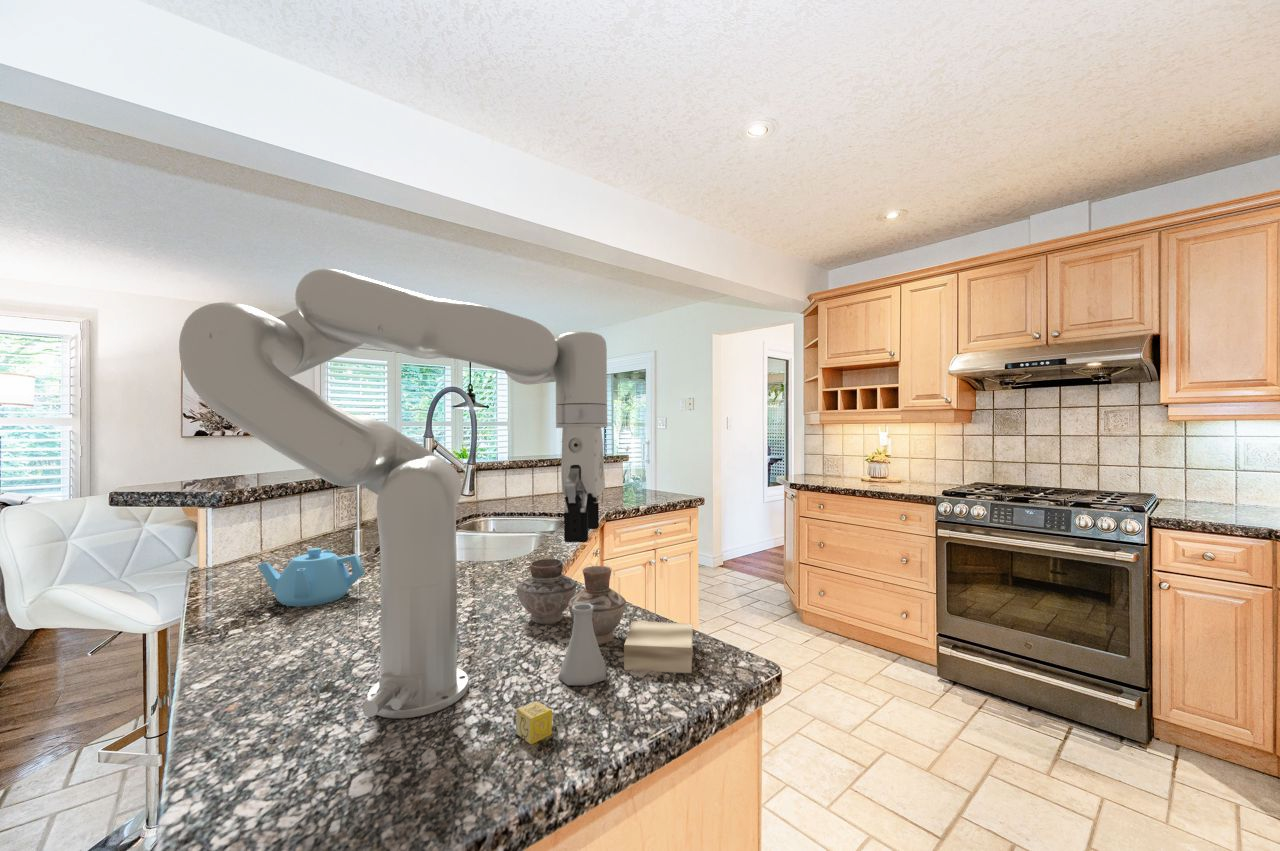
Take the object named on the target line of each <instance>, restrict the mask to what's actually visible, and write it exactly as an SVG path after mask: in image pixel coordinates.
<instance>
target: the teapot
mask: <svg viewBox="0 0 1280 851" xmlns="http://www.w3.org/2000/svg"><path fill="white" fill-rule="evenodd" d="M322 551H323V552H322ZM332 551H333V550H332V549H324V550H323V548H321V547H313V548H307V550H306V553H307V554H302V555H298V556H295V557H293V558H292V559H290V561H289V562H288V564H286V567H285V568H284V569H283V571H281V574H280V572H278V570H276V569H275V568H274V567H273V566H272V564H270V563H269V562H263V563H259V564H258V565H257V567H258V569H259V570H260V571H261V574H262V576H263V577H264V579H265V581H266V582H267V584H268V586H269V588H270V589H271V591H272V593H273V594H274V597H275V599H276V601H278V603H280V604H281V605H283V606H284V605H286V606H285V607H288V606H307V607H313V606H314V605H315V606H319V605H320V606H321V605H324V604H329V603H332V602H335V601H337V600H340V599H342V598H343V597H344V596H345V595H346V594H347V592H349V590H350V589H351V587H352V585H353V584H355V583H356V582H357V581H358V580H359V579H360V578H361V577H362V576H363V575H365V574H366V573H365V570H364V566H363V565H362V561H361V559H360V556H359V553H356V554H351V555H346V556H342V557H339V556H338V554H336V553H334V552H332ZM346 563H349V565H350V569H351V571H352V573H351V574H350V572H349V571H348V568H347V566H346V565H345V564H346ZM341 597H342V598H341Z"/></svg>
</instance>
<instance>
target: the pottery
mask: <svg viewBox="0 0 1280 851" xmlns="http://www.w3.org/2000/svg"><path fill="white" fill-rule="evenodd" d="M563 567H564V566H563V561H562V560H560V559H557V558H541V559H537V560H533V561H531V562H530V564H529V570H530V573H531V574H530V576H528V577H527V578H526V579H524V580H523V581H522V582H519V583H518V584H517V586H516V594H517V595H516V596H517V598H518V600H519V602H520V604H521V605H522V607H523V608H524V609H525V611H527V612H528V613H529V614H530V619H531V621H532V622H534V623H535V624H542V625H545V624H554V623H557V622H559V621H561V620H562V619H563V612H564V611H566V610H567V608H568V610H569V614H570V616H571V620H572V621H573V623H574V612H572V607H573V605H576V604H591V605H593V606H594V608H593V612H592V624H593V630H594V634H595V637H596V640H597V643H598V645H605V644H608V643H611V642H612V641H614V639H615V635H614V630H615V629H616V628H618V626H619V624H620V623H621V620H622V618H623V616H624V612H625V609H626V603H627V601H626V599H625V598H624V597H623V595H621V594H619V592H617V591H615V590H613V589H612V588H611V587H610V580H611V575H612V568H611V567H610V566H604V565H603V566H602V565H594V566H593V565H592V566H586V567H584V568H582V573H583V578H584V587H585V588H584V589H582V590H581V591H580V592H578V593H577V594H576V592H577V583H576V581H575V580H573V579H572V578H570V577H569V576H567V575H565V574H562V572H563Z"/></svg>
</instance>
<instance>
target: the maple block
mask: <svg viewBox="0 0 1280 851" xmlns="http://www.w3.org/2000/svg"><path fill="white" fill-rule="evenodd" d="M693 628H694V627H693V623H691V622H690V623H689V622H687V623H685V622H662V621H661V622H659V621H640V620H639V621H635V620H632V622H631V625H630V628H629V630H628V634H627V636H626V638H625V642H624V644H623V670H624V671H637V670H644V671H643V672H658V671H661V672H662V673H664V672H666V673H678V674H679V673H681V674H685V673H686V674H692V670H693V651H694V650H693V646H694V645H693V643H694V642H693V640H694V636H693V635H694V634H693V633H694V632H693ZM661 672H660V673H661Z"/></svg>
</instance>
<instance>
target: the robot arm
mask: <svg viewBox="0 0 1280 851" xmlns="http://www.w3.org/2000/svg"><path fill="white" fill-rule="evenodd" d="M294 297H295V298H294V299H295V305H296V307H297V308H296V309H295V310H292V311H289V312H287V313H284V314H282V315H280V316H277V317H274V316H273V315H270V314H268V313H266V312H264V311H262V310H260V309H258V308H255V307H253V306H250V305H248V304H247V305H246V304H241V303H237V302H229V301H226V302H225V301H224V302H213V303H208V304H206V305H203V306H200V307H199V308H197V309H195V310H194V311H193V312H192V313H191V314H189V316H188V317H187V319H185V321H184V323H183V326H182V329H181V330H180V331H181V332H180V335H179V340H178V344H179V345H178V351H179V352H178V353H179V359H180V364H181V369H182V371H183V372H184V376H185V377H186V379H187V382H188V383H189V385H190V386H191V388H192V389H193V391H194V393H196V395H197V396H198V397H199V399H201V401H202V402H204V403H205V404H206V405H207V406H208V407H209V408H210V409H212V410H213V411H214V412H215V413H216V414H218V415H219V416H221V418H223V419H225V420H226V421H228V422H229V423H231V424H233V425H234V426H236V427H238V428H239V429H241V430H242V431H244V432H245V433H248V434H249V435H251V436H252V437H254V438H256V439H257V440H259V441H261V442H262V443H264V444H265V445H267V446H268V447H270V448H271V449H273V450H274V451H277V453H280V454H281V455H282V456H285V457H287V458H288V459H290V460H291V461H294V462H295V463H296V464H298V465H299V466H301V467H304V468H305V469H307V470H309V471H310V472H311V473H313V474H314V475H316V476H317V477H319V478H321V479H322V480H324V481H325V482H328V483H329V484H332V485H335V486H339V487H355V486H361V487H364V488H365V489H366V490H369V491H370V492H371V493H373V494H376V495H377V498H376V499H377V500H376V519H377V527H378V528H377V529H378V538H379V540H378V541H379V554H380V555H379V560H380V562H379V563H380V567H379V568H380V571H379V573H380V575H379V577H380V581H379V582H380V648H379V649H380V655H379V656H380V658H379V659H380V663H379V664H380V665H379V666H380V667H379V668H380V669H379V670H380V672H379V673H380V674H379V677H378V682H377V683H376V684H374V685H373V686H371V689H370V690H369V691H368V693H367V695H366V701H365V702H363V705H362V712H363V714H364V715H365V716H366V717H369V718H372V717H375V716H379V717H381V718H386V719H409V718H415V717H422V716H427V715H429V714H433V713H435V712H439V711H441V710H444V709H446V708H448V707H450V706H452V705H453V704H455V703H457V702H458V701H459V700H461V699H462V698H463V697H464V695H465V694H466V693H467V692H468V689H469V681H470V680H469V679H470V678H469V675H468V674H467V673H466V672H465V671H464V670H462V669H460V668H458V574H457V573H458V568H457V566H458V565H457V563H458V562H457V561H458V558H457V557H458V555H457V554H458V553H457V551H458V550H457V547H458V546H457V505H458V504H459V501H460V499H461V496H462V492H463V485H462V479H461V476H460V475H459V473H458V471H457V470H456V468H455V467H454V466H453V465H451V463H449V462H448V461H446V460H445V459H444V458H442V457H440V456H439V455H437V454H436V453H434V452H433V451H431V450H430V449H427V448H425V447H424V446H422V445H421V444H419V443H417V442H416V441H415V440H413V439H411V438H410V437H408V436H407V435H405V434H403V433H401V432H400V431H398V430H397V429H395V428H393V427H392V426H390V425H388V424H386V423H384V422H383V421H380V420H378V419H375V418H370V417H364V416H359V415H355V414H352V413H350V412H348V411H346V410H344V409H342V408H340V407H339V406H337V405H335V404H334V403H332V402H330V401H329V400H327V399H326V398H323V397H322V396H320V395H319V394H317V393H316V392H315V391H313V390H312V389H310V388H309V387H307V386H305V385H304V384H301V383H299V382H298V381H296V380H294V379H293V378H291V377H293V376H296V375H297V376H298V375H299V374H301V373H305V372H306V371H308V370H311V369H313V368H315V367H317V366H320V365H322V364H324V363H326V362H329V361H331V360H333V359H335V358H337V357H340V356H342V355H344V354H346V353H348V352H350V351H353V350H354V349H356V348H358V347H359V348H360V347H361V346H362V345H364V344H365V345H370V346H373V347H378V348H381V349H385V350H388V351H391V352H395V353H399V354H403V355H406V356H410V357H413V358H418V359H425V360H434V359H441V358H442V359H443V358H445V359H446V358H447V359H453V360H460V361H464V362H470V363H474V364H477V365H482V366H485V367H488V368H492V369H496V370H500V371H503V372H505V374H506V375H507V376H508V377H509V378H510V379H511V380H513V381H514V382H515V383H517V384H522V385H525V386H526V385H530V386H531V385H539V384H547V383H555V428H556V429H562V431H561V432H562V435H561V436H562V437H561V465H560V467H561V469H560V470H561V474H560V475H561V476H560V477H561V492H562V494H563V496H564V509H563V510H564V512H563V518H564V519H563V528H564V529H563V530H564V531H563V533H564V536H563V538H564V542H565V543H587V542H588V540H589V530H598V529H599V527H600V522H599V521H600V515H599V514H600V513H599V512H600V509H599V507H600V504H599V495H600V494H601V493H602V492H603V491H604V490H605V487H606V481H605V463H604V462H605V459H604V457H605V456H604V440H603V433H602V432H603V431H602V429H604V428H608V370H607V369H608V366H607V365H608V364H607V361H608V360H607V359H608V356H607V350H608V349H607V342H606V340H605V338H604V337H603V335H601V334H599V333H595V332H588V331H571V332H565V333H563V334H560V335H559V336H558V337H557V338H555V335H554V334H553V333H552V332H551V331H550V330H549V329H548V328H547V327H546V326H545V325H543V324H541V323H540V322H537V321H535V320H533V319H529V318H527V317H523V316H520V315H517V314H513V313H510V312H507V311H503V310H499V309H496V308H494V307H493V308H492V307H489V306H486V305H485V306H484V305H481V304H476V303H471V302H463V301H457V300H451V299H447V298H439V297H438V298H437V297H433V296H431V295H430V296H429V295H425V294H423V293H419V292H415V291H413V290H412V291H411V290H409V289H404V288H401V287H398V286H394V285H391V284H389V283H388V284H387V283H385V282H381V281H378V280H374V279H371V278H368V277H365V276H362V275H357V274H355V273H351V272H347V271H343V270H339V269H334V268H333V269H332V268H319V269H315V270H312V271H310V272H308V273H306V274H305V275H304V276H303V277H302V278H301V280H300V281H299V282H298V284H297V286H296V290H295V296H294Z"/></svg>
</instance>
